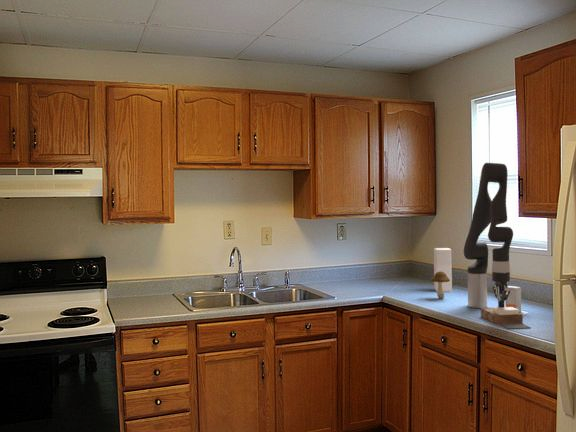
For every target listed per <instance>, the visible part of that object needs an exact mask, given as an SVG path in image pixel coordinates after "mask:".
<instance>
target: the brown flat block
mask: <svg viewBox="0 0 576 432" xmlns="http://www.w3.org/2000/svg"><path fill="white" fill-rule="evenodd" d="M493 308H498V307H494V306H493V307H485V308H480V317H482V318H484V319H485V320H488V321H489V322H491V323H492V324H494V325H499V324H503V323H523V322H524V321H523V317H524V316H523V315H524V314H522V312H519V314H511V315H498V314H496V313H494V312H493ZM523 324H524V323H523Z"/></svg>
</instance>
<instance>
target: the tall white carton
mask: <svg viewBox="0 0 576 432" xmlns="http://www.w3.org/2000/svg"><path fill="white" fill-rule="evenodd" d="M452 266H453V265H452V249H451V248H449V247H434V248H433V276H435V274H436V273H437V272H444V273H445V274H446V275H447V277H448V278H449V279H450V281H449V282H442V289H443V292H445V293H448V292H451V293H452V292H453V273H452V272H453V271H452V269H453V268H452ZM433 288H434V290H435V292H437V290H438V282H434V281H433Z"/></svg>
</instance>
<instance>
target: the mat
mask: <svg viewBox="0 0 576 432" xmlns="http://www.w3.org/2000/svg"><path fill="white" fill-rule="evenodd" d="M498 325H500V327H502V328H505V329H507V330H520V329H525V330H526V329H531V327H530V326H528V325H526V324H525V323H503V324H498Z"/></svg>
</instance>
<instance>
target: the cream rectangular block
mask: <svg viewBox="0 0 576 432" xmlns="http://www.w3.org/2000/svg"><path fill="white" fill-rule="evenodd" d="M492 308H493V312H494V313H496V314H498V315H511V314H519V313H520V312H519V310H518V309H516V308H514V307H506V306H504V307H499V308H494V307H492Z"/></svg>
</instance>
